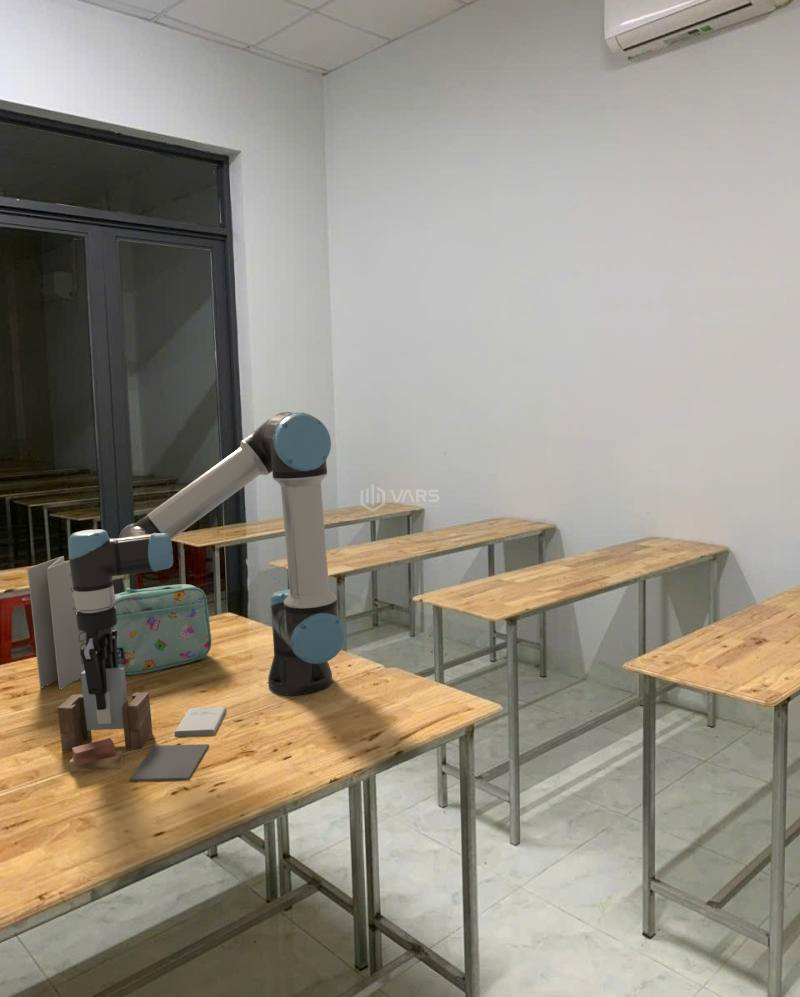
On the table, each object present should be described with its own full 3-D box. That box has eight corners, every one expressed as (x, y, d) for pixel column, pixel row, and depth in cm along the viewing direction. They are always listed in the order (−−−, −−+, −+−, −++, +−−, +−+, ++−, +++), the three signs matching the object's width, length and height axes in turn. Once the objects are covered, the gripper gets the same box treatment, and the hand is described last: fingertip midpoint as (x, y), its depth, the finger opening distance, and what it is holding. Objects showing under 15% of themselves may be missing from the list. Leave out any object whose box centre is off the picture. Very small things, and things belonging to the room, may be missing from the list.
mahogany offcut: (111, 750, 159) (110, 737, 159) (115, 755, 157) (114, 743, 156) (73, 760, 155) (72, 747, 155) (76, 766, 153) (75, 753, 153)
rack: (153, 733, 171) (149, 692, 170) (140, 749, 164) (136, 706, 162) (77, 735, 172) (73, 694, 170) (61, 751, 164) (56, 708, 163)
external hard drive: (174, 738, 170) (189, 714, 182) (214, 736, 170) (226, 712, 182) (174, 731, 169) (188, 707, 182) (214, 729, 169) (225, 705, 182)
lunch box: (109, 682, 202) (102, 598, 199) (101, 670, 211) (94, 589, 208) (215, 660, 216) (209, 581, 213) (203, 650, 224) (198, 574, 222)
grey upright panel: (130, 723, 168) (124, 667, 167) (126, 728, 166) (119, 671, 164) (91, 725, 169) (85, 669, 167) (87, 730, 166) (80, 673, 164)
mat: (208, 746, 164) (208, 744, 164) (188, 779, 150) (188, 777, 150) (154, 747, 164) (154, 745, 164) (129, 781, 150) (129, 779, 150)
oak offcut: (123, 763, 159) (122, 751, 158) (119, 771, 156) (117, 758, 155) (76, 766, 158) (74, 754, 158) (70, 774, 155) (69, 761, 155)
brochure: (60, 690, 199) (47, 568, 194) (39, 689, 200) (27, 568, 196) (93, 669, 212) (82, 556, 208) (74, 669, 213) (62, 555, 209)
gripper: (92, 598, 171) (104, 705, 175) (60, 620, 156) (74, 737, 160) (127, 596, 171) (139, 704, 175) (98, 618, 156) (112, 735, 159)
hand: (108, 719), depth 167 cm, fingers closed on grey upright panel, 2 cm apart
